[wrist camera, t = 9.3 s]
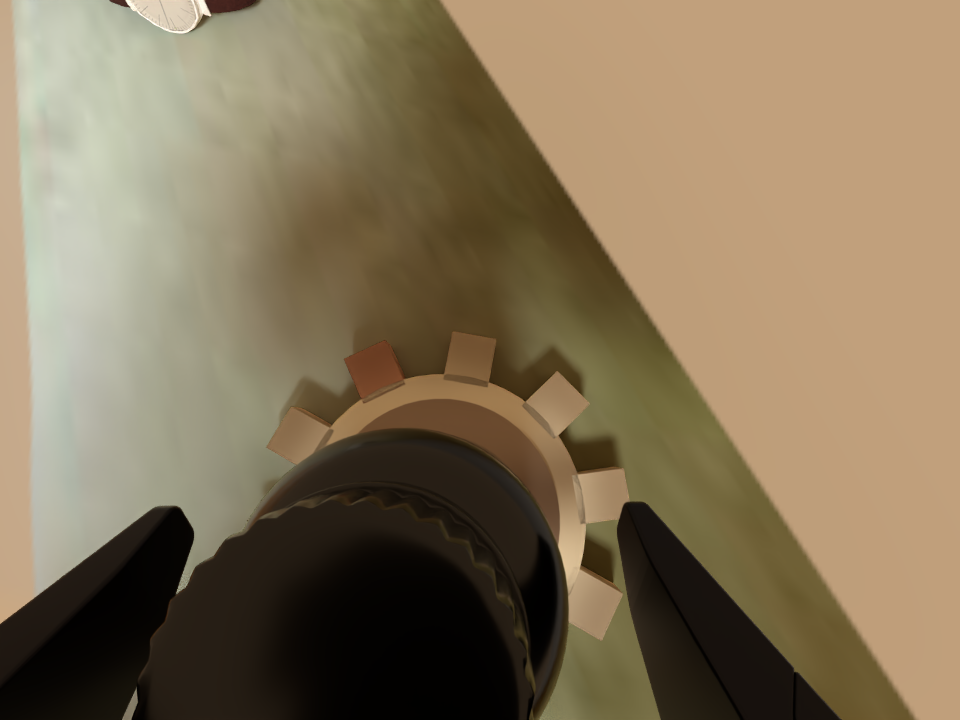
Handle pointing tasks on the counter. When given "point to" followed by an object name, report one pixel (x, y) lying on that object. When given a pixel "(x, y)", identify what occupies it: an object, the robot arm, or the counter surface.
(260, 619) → the supplement bottle
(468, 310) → the counter surface
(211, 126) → the counter surface
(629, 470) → the counter surface
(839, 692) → the counter surface
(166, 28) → the watch
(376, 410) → the sprocket wheel
